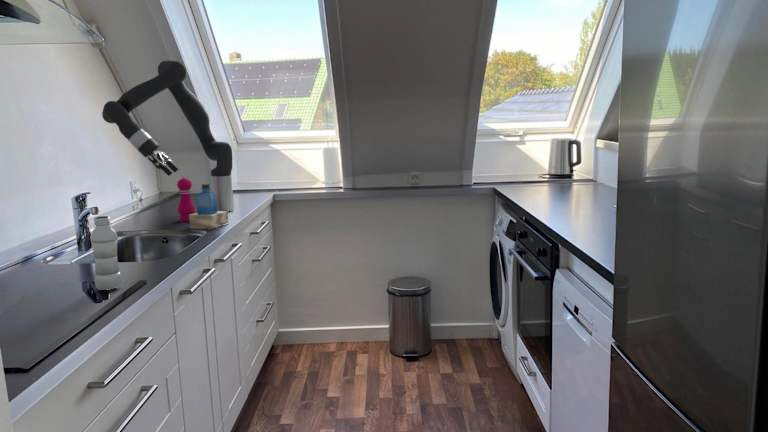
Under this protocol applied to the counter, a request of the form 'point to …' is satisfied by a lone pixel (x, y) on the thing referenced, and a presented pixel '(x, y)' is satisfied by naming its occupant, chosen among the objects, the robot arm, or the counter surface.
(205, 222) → the birch block
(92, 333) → the counter surface
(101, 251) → the plastic bottle
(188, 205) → the pepper mill
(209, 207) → the perfume bottle
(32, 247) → the counter surface
